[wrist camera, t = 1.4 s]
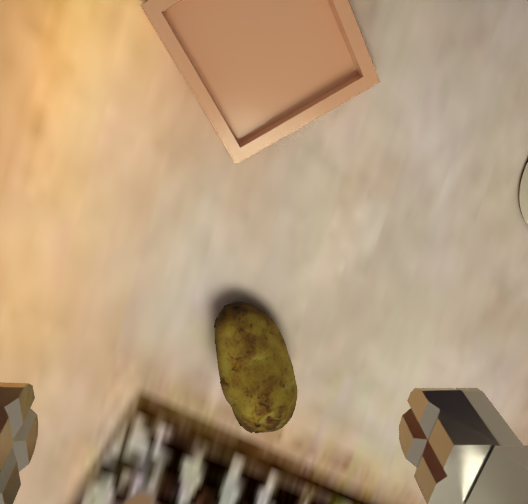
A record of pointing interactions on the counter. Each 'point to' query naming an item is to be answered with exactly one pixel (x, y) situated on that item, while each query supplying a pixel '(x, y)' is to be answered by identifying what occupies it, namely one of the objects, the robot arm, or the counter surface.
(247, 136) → the tray
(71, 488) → the counter surface
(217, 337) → the potato
